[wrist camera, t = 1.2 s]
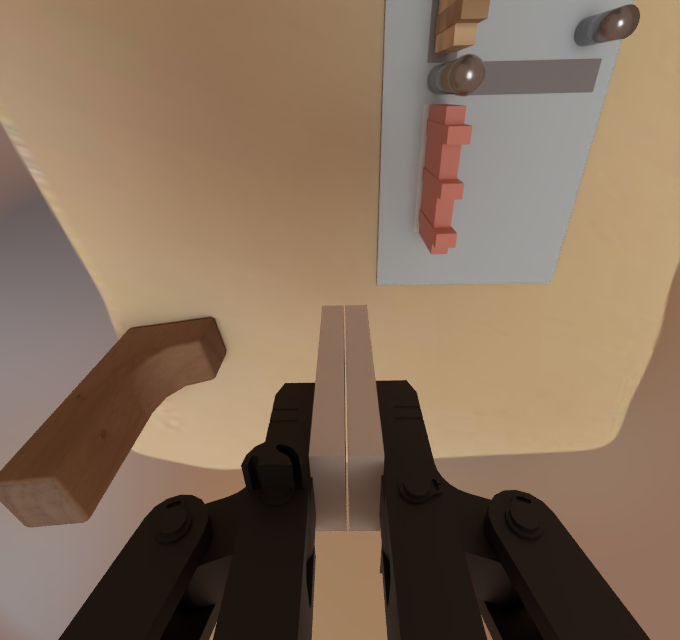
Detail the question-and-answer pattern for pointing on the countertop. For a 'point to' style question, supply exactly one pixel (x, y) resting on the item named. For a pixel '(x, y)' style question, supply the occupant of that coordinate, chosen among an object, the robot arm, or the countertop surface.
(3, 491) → the wooden block
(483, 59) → the card
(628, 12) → the peg
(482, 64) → the post
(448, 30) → the fence fixed
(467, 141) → the fence panel
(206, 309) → the countertop surface
